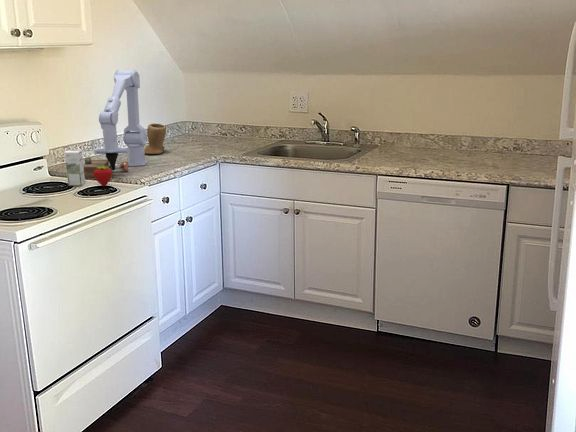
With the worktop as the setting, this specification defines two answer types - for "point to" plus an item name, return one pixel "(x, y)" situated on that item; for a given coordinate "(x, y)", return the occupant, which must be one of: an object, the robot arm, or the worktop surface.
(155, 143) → the brown boot
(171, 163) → the worktop surface
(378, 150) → the worktop surface
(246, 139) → the worktop surface
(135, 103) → the robot arm
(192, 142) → the worktop surface
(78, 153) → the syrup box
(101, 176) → the strawberry
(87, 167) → the mount
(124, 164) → the inner knob
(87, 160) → the potentiometer
